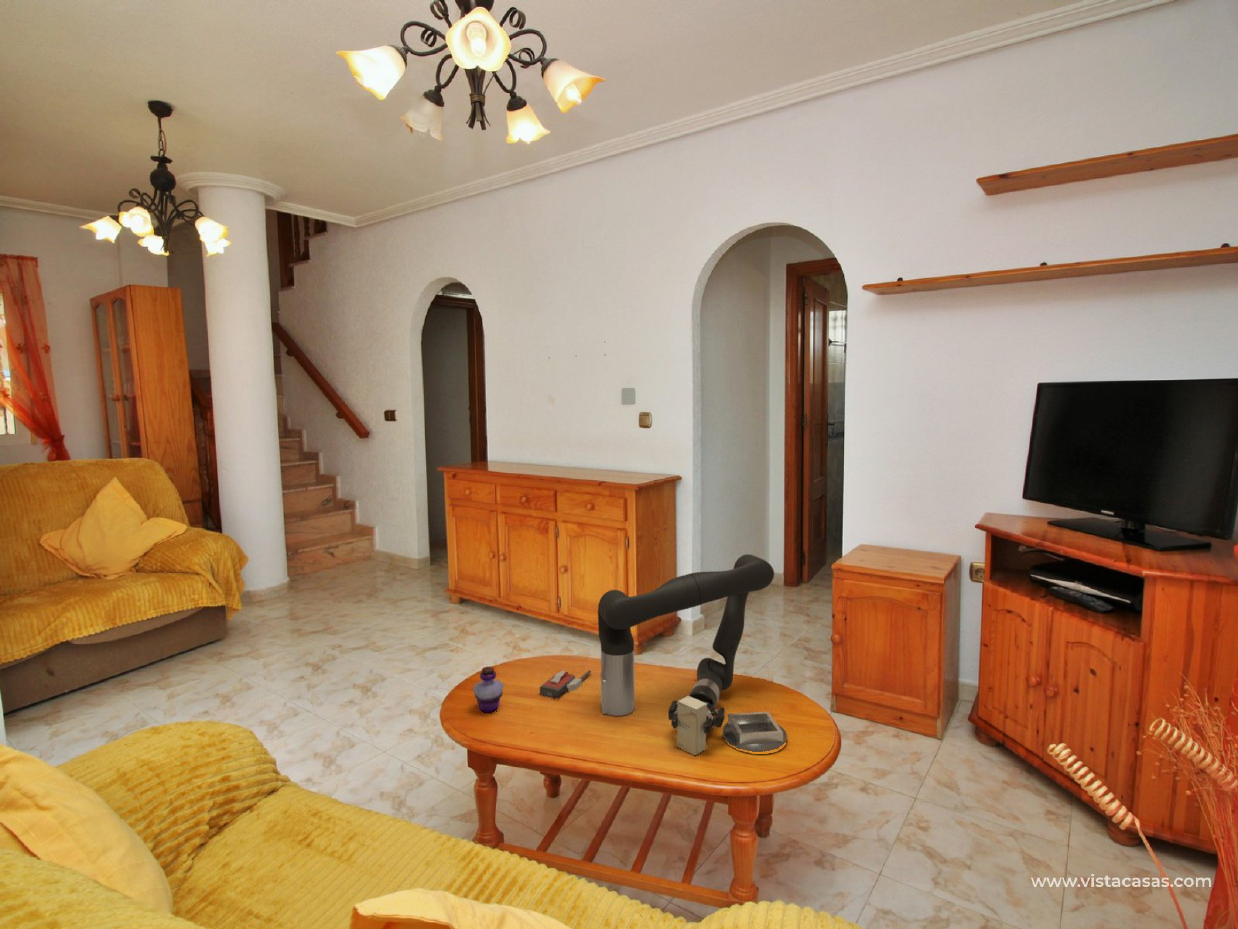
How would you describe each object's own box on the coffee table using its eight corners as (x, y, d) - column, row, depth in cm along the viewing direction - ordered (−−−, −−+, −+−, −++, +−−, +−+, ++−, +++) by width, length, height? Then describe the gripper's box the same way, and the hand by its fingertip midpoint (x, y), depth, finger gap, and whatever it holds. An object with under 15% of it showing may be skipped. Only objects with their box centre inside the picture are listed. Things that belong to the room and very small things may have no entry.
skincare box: (676, 747, 164) (676, 700, 163) (687, 740, 168) (687, 694, 166) (695, 757, 160) (696, 709, 159) (707, 750, 163) (707, 703, 162)
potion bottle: (510, 706, 187) (509, 665, 186) (491, 719, 179) (490, 677, 178) (486, 699, 191) (485, 660, 190) (466, 712, 183) (465, 671, 182)
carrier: (732, 757, 160) (732, 741, 159) (716, 724, 176) (716, 710, 175) (796, 752, 161) (796, 737, 161) (774, 720, 177) (774, 706, 177)
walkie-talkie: (562, 703, 189) (593, 676, 207) (562, 688, 189) (593, 662, 207) (536, 697, 193) (568, 671, 211) (536, 683, 192) (568, 658, 210)
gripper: (677, 681, 178) (661, 708, 163) (730, 688, 174) (719, 717, 158) (677, 707, 179) (661, 737, 164) (730, 715, 175) (718, 747, 159)
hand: (689, 727), depth 161 cm, fingers closed on skincare box, 7 cm apart
